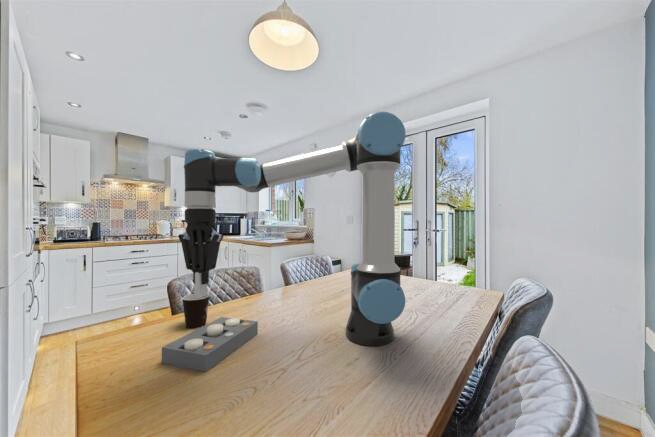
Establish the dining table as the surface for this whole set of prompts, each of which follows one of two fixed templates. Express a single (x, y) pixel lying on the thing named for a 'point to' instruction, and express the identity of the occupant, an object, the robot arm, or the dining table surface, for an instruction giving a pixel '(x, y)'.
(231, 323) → the button
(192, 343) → the button
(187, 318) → the coffee mug
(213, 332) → the button
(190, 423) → the dining table surface
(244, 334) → the button board
